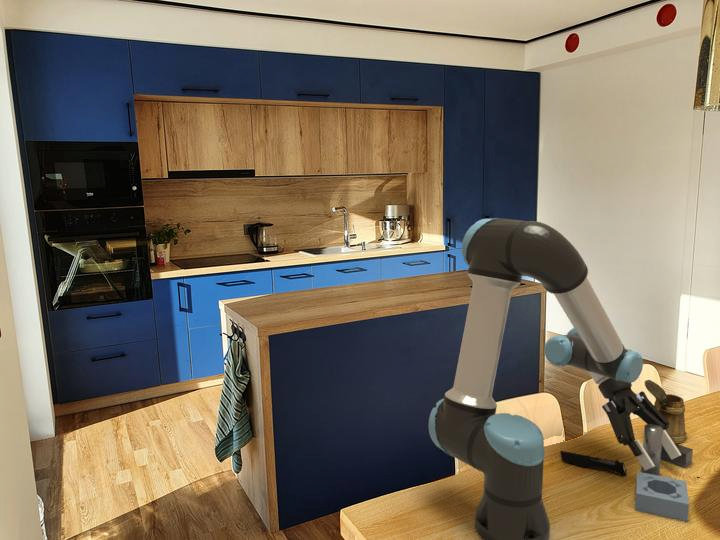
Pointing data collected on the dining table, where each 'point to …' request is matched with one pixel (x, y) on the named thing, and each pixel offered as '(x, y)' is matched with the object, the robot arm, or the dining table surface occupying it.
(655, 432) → the ball
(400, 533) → the dining table surface
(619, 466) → the electric trimmer
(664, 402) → the wooden mug
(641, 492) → the bore block
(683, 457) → the square bar
